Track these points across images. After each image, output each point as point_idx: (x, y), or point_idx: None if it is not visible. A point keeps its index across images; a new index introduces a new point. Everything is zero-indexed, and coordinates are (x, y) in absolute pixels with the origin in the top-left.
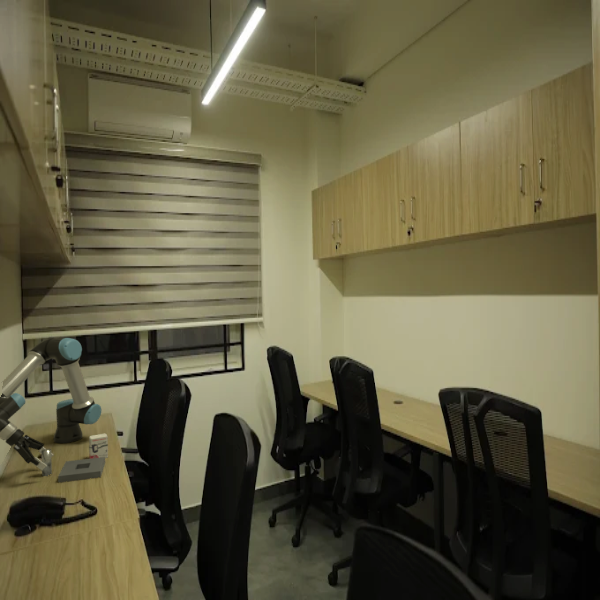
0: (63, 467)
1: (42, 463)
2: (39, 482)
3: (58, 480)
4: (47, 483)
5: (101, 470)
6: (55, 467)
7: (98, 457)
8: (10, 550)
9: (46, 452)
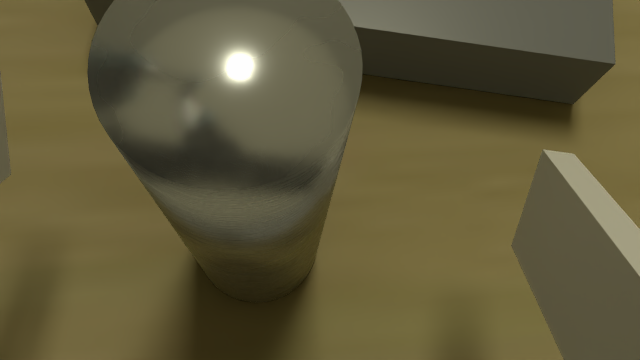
0: None
1: (608, 202)
2: (489, 314)
3: (584, 89)
4: None
5: None
6: (26, 155)
7: None
8: None
9: (356, 68)
